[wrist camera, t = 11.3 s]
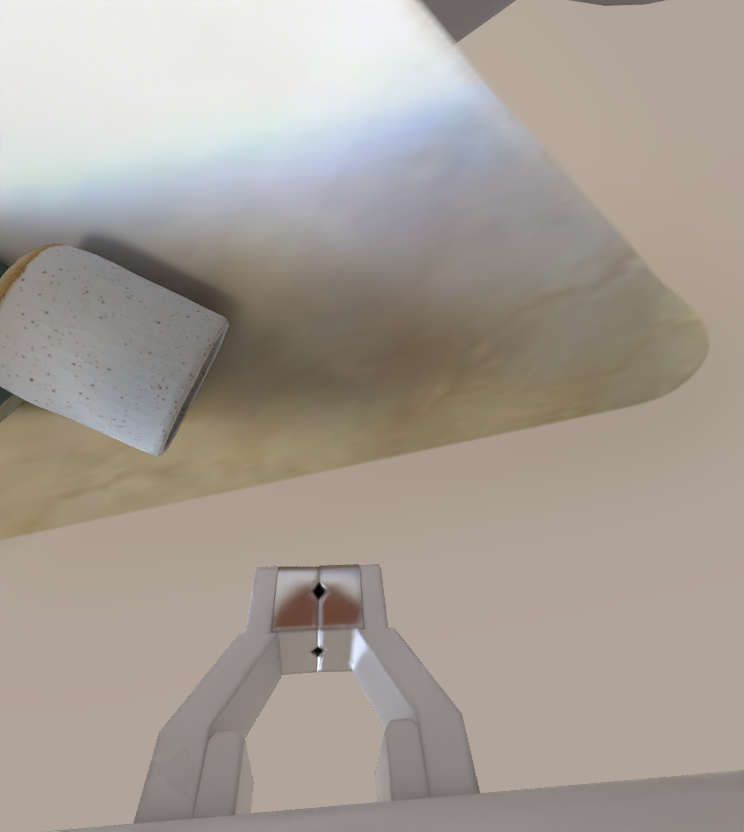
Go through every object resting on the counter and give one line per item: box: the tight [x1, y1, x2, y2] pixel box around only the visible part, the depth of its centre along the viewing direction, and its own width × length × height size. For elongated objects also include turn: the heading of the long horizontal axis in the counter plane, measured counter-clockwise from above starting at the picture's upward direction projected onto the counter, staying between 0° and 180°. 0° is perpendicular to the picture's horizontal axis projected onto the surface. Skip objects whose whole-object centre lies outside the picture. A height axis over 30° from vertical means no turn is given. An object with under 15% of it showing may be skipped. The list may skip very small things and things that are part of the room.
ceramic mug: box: [0, 244, 229, 456], centre depth 21 cm, size 11×8×8 cm
